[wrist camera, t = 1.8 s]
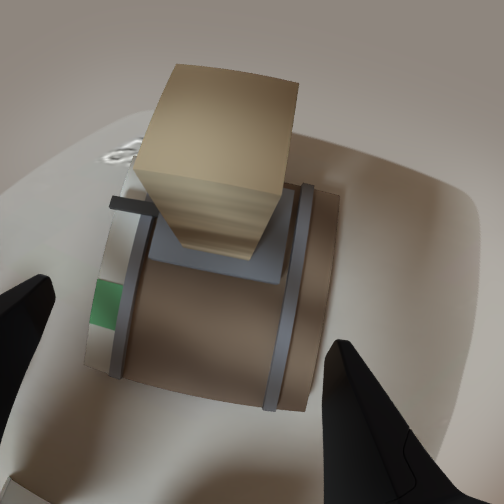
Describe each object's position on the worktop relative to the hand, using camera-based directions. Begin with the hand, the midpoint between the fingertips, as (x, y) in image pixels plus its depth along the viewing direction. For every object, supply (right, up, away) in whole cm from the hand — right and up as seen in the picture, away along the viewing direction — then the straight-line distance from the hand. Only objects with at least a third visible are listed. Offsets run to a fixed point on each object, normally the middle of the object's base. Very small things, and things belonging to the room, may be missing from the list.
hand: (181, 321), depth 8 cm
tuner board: (-1, 0, +12) cm, 12 cm away
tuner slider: (-2, +4, +11) cm, 12 cm away
